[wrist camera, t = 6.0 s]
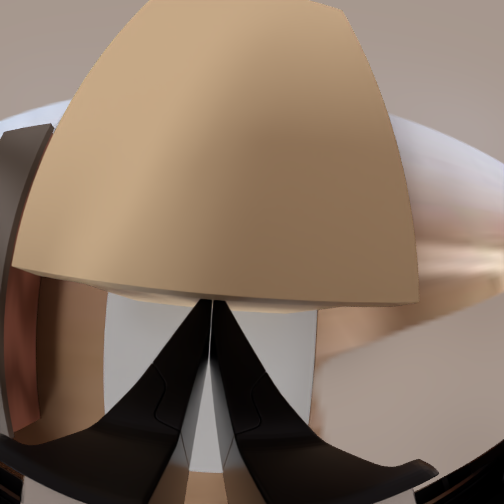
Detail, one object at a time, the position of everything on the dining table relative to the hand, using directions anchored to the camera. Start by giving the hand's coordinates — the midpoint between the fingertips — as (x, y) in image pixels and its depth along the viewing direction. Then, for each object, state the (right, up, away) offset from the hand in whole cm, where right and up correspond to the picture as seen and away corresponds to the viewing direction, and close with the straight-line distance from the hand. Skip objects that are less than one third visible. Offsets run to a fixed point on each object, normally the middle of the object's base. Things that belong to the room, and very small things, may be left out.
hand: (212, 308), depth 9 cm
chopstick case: (-16, 0, +5) cm, 17 cm away
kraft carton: (-1, +5, +8) cm, 10 cm away
